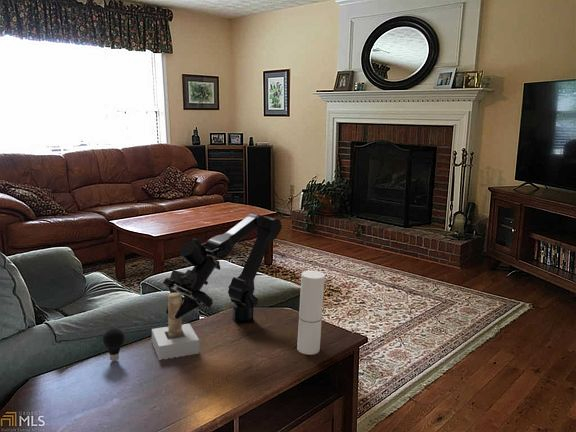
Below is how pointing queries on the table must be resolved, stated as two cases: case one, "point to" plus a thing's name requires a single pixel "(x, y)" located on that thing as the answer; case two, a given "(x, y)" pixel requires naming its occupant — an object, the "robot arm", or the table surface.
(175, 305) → the peg
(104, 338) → the light bulb
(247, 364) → the table surface
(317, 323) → the cylindrical container
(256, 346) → the table surface
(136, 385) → the table surface
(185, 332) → the socket block
